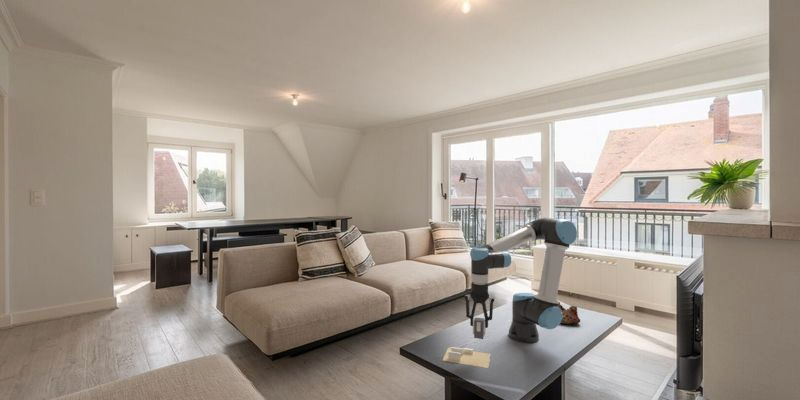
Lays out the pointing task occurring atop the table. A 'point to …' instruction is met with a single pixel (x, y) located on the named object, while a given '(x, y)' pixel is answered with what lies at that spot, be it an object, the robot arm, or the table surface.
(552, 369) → the table surface
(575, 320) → the coral
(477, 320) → the plug
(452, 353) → the board
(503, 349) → the table surface
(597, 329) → the table surface
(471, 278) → the robot arm
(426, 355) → the table surface
